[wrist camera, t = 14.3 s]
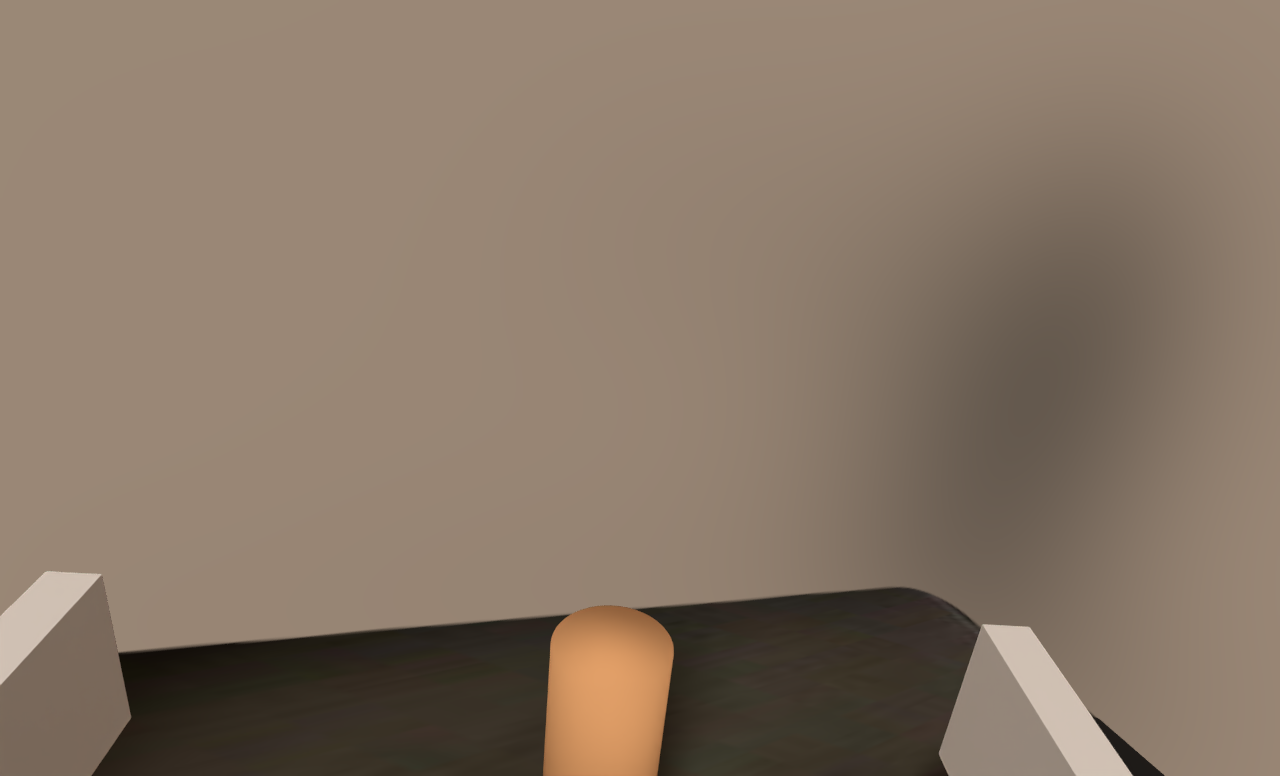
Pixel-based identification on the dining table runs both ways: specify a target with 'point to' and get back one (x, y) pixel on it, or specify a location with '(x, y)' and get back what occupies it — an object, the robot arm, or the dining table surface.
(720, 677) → the dining table surface
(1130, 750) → the digital camera
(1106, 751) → the robot arm
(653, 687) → the copper rod
